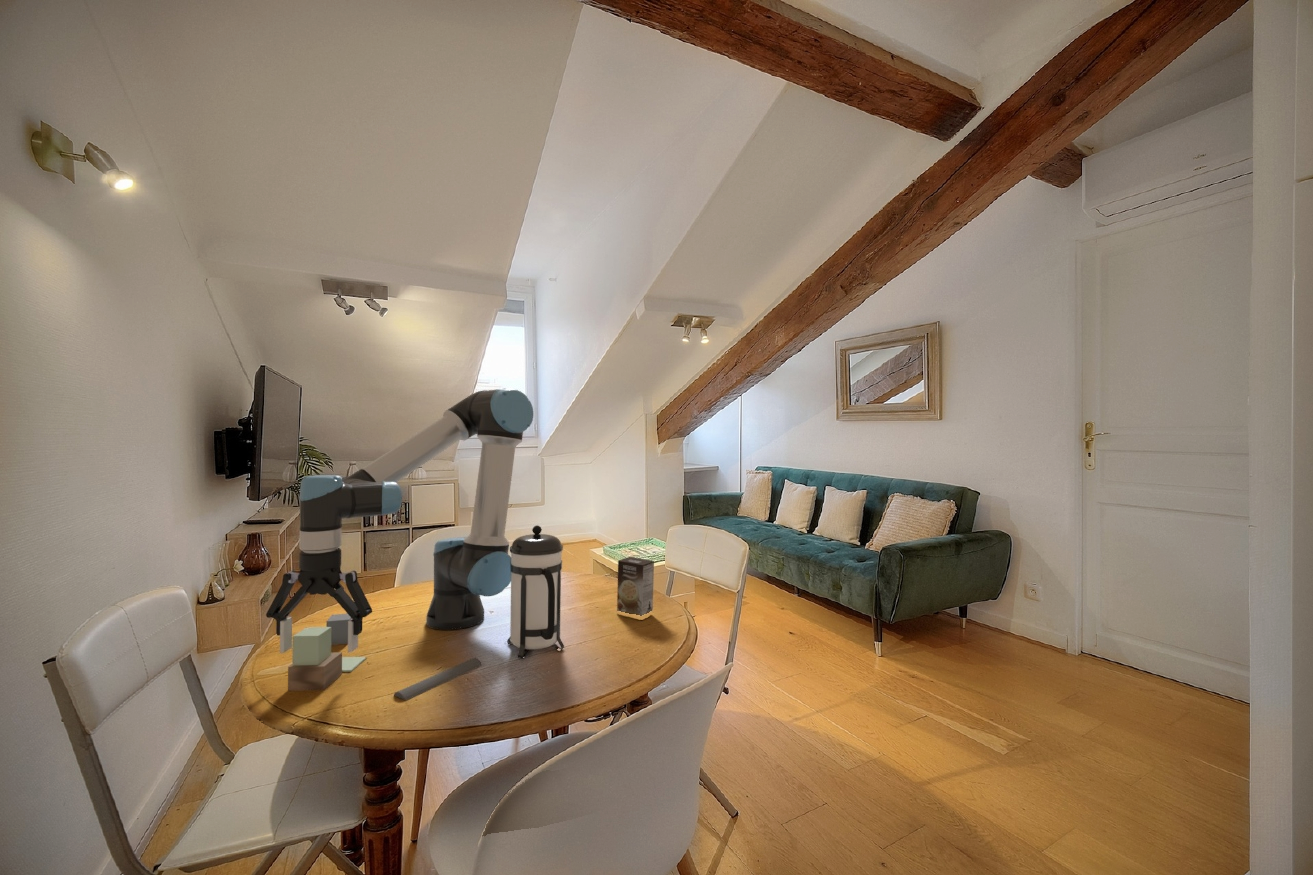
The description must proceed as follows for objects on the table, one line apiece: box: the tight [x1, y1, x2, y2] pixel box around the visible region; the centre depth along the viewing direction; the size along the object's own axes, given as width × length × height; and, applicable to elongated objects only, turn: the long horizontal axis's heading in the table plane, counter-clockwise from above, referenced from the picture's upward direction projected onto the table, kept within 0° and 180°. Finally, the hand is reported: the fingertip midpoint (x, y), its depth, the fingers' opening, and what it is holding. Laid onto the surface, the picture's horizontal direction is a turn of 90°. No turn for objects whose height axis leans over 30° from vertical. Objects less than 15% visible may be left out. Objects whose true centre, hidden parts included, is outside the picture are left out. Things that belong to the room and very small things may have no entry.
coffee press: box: [506, 524, 565, 659], centre depth 131 cm, size 17×16×30 cm
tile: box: [342, 656, 367, 673], centre depth 120 cm, size 7×7×1 cm
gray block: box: [325, 613, 352, 646], centre depth 134 cm, size 5×5×6 cm
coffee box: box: [616, 556, 655, 616], centre depth 157 cm, size 9×6×16 cm
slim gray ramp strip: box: [393, 657, 483, 701], centre depth 114 cm, size 4×20×2 cm, turn 150°
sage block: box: [291, 626, 332, 666], centre depth 112 cm, size 5×5×6 cm
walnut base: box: [287, 651, 343, 692], centre depth 112 cm, size 7×7×5 cm
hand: (319, 650), depth 113 cm, fingers open, 13 cm apart
